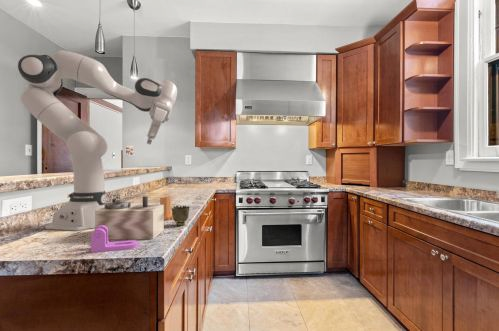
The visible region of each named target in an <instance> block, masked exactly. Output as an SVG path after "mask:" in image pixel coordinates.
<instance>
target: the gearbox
mask: <svg viewBox="0 0 499 331" xmlns="http://www.w3.org/2000/svg"><path fill="white" fill-rule="evenodd" d="M148 199H149V196H142V204H131V201H122V200H121V199H115V198H112V199H111V200H112V201H111V202H105V207H104V208H101V209H98V210H95V228H94V230H95V229H96V228H97V227H98V226H100V225H104V226H106V227H107V228H108V240H154V239H155V238H156V237H157V236H158V235H159V234H161V233H162V232H163V231H164V228H165V226H164V224H165V220H164V205H160V204H149V202H148V201H149V200H148Z"/></svg>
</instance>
